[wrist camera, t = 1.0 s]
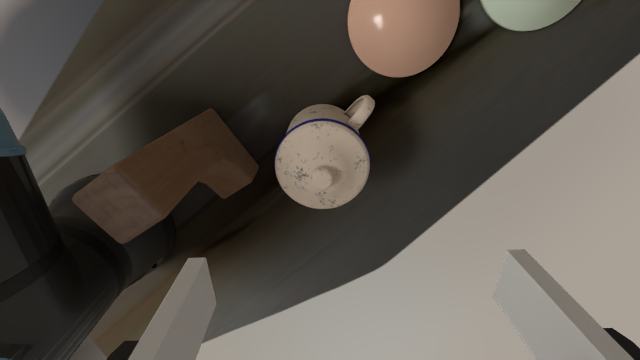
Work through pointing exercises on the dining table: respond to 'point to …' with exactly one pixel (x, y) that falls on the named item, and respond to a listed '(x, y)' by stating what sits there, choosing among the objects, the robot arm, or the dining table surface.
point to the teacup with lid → (325, 155)
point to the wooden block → (166, 176)
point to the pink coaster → (401, 33)
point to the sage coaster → (526, 12)
